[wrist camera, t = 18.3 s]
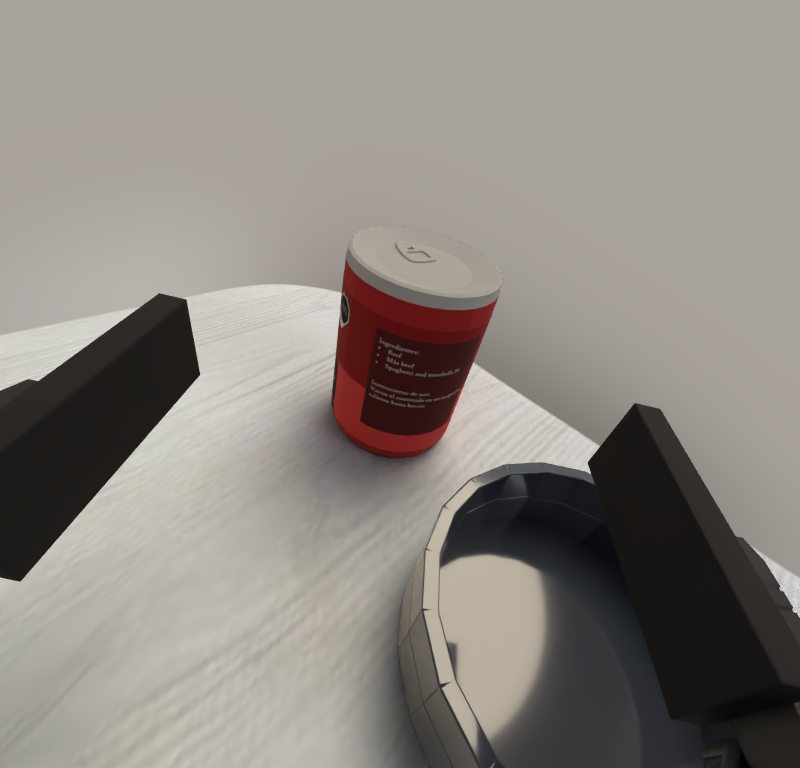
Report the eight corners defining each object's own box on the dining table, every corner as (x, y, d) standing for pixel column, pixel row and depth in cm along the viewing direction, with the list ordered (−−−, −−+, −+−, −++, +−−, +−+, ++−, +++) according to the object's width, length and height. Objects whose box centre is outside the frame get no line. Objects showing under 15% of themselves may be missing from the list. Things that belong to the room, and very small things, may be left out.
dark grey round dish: (686, 586, 20) (751, 544, 17) (761, 1040, 10) (942, 1115, 8) (453, 475, 23) (476, 423, 20) (336, 752, 13) (350, 727, 10)
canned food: (385, 363, 30) (415, 217, 23) (468, 423, 27) (532, 274, 20) (303, 404, 25) (311, 235, 18) (393, 484, 22) (444, 314, 15)
